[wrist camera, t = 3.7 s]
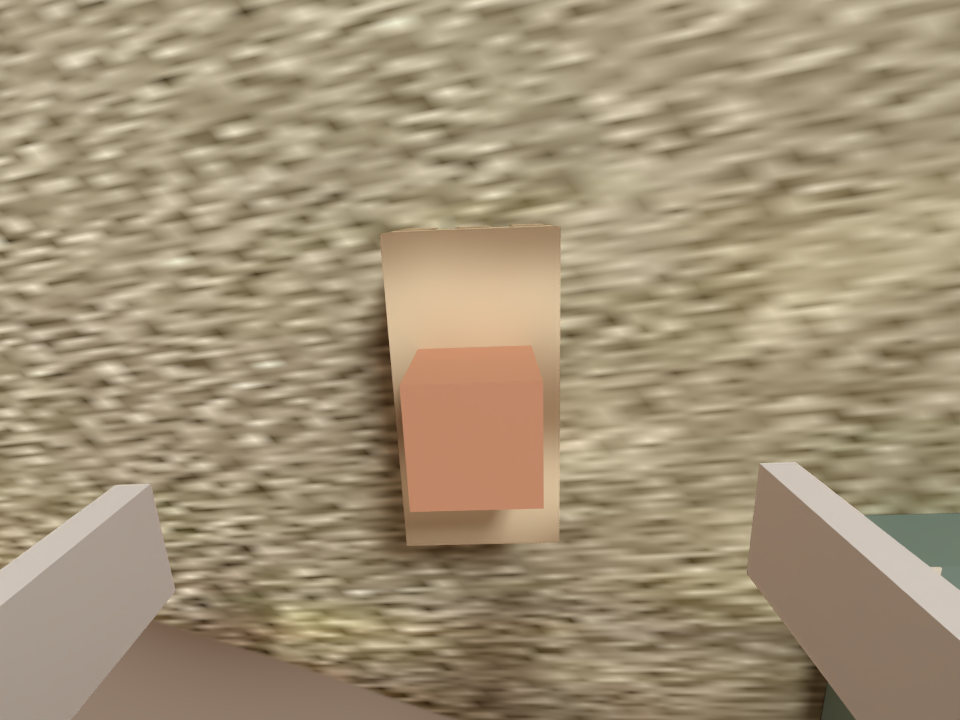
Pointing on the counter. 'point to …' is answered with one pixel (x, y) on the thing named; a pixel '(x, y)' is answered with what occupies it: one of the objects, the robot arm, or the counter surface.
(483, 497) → the orange cube
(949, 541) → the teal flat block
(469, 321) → the tan rectangular block
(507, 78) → the counter surface
